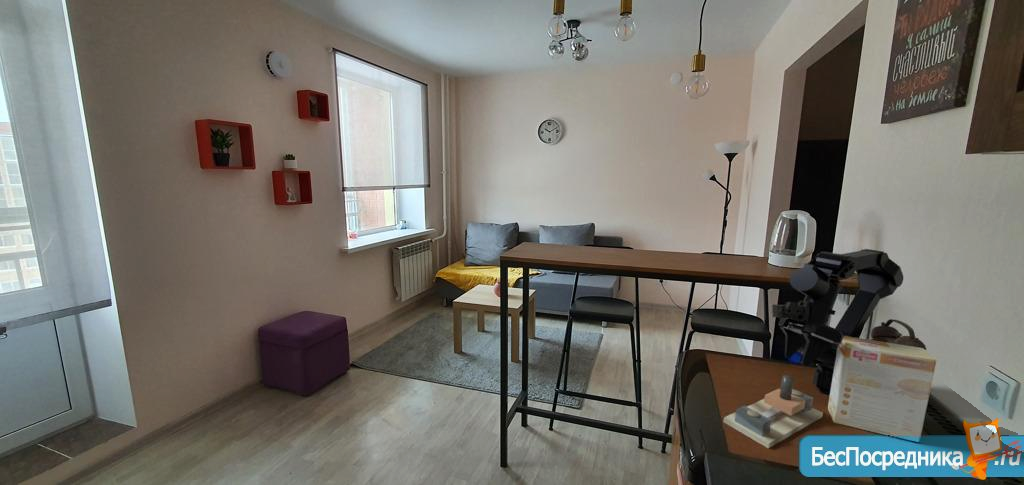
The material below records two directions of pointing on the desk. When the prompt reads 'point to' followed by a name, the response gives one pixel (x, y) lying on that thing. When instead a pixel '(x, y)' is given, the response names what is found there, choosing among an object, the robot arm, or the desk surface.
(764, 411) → the rail track
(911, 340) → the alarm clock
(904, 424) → the coffeecake box
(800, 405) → the carriage
